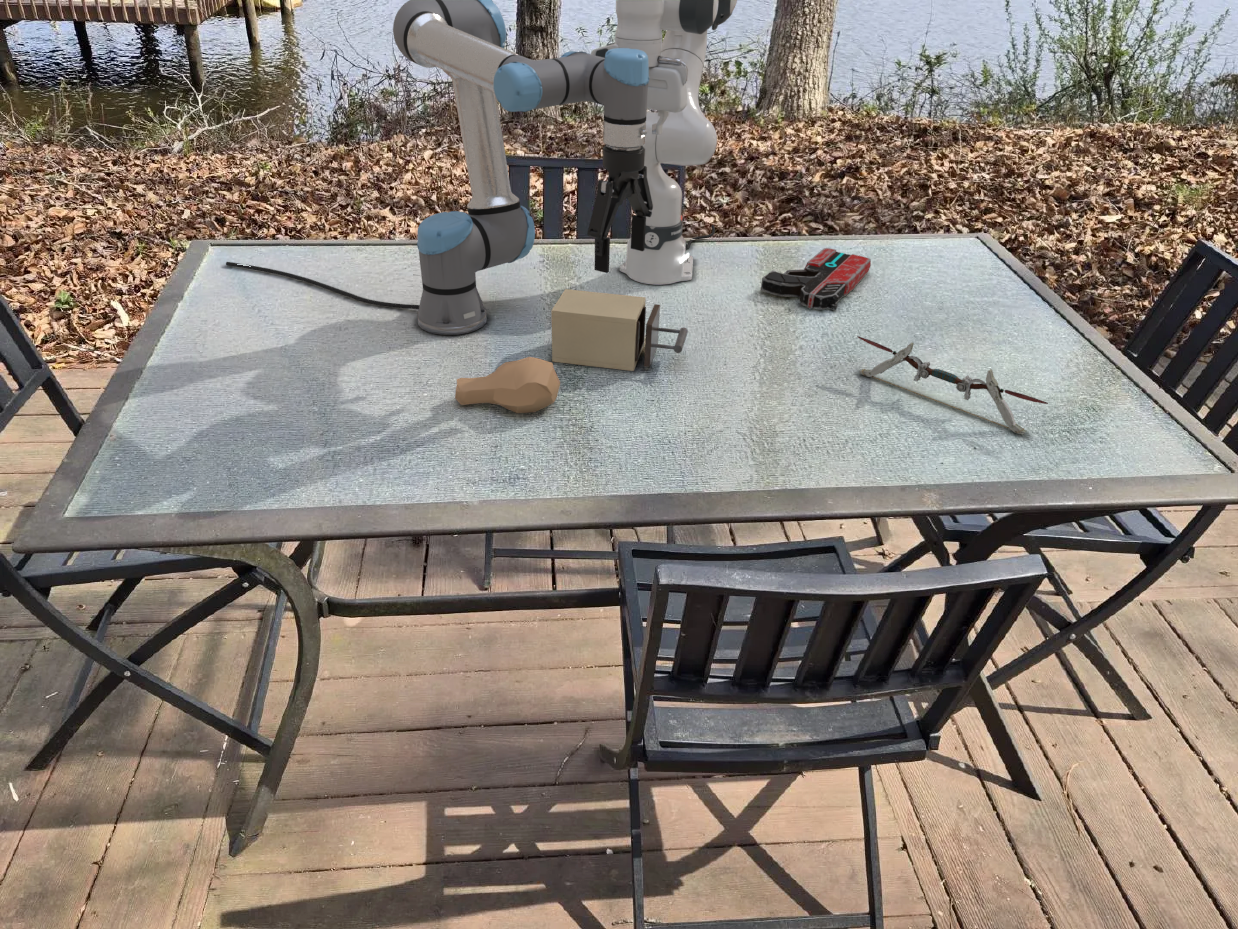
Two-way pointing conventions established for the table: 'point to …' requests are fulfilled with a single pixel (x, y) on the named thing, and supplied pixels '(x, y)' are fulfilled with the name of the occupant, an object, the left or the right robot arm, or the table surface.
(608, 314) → the tan box
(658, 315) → the drawer
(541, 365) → the squash
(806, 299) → the gun
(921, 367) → the bow
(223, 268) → the table surface
